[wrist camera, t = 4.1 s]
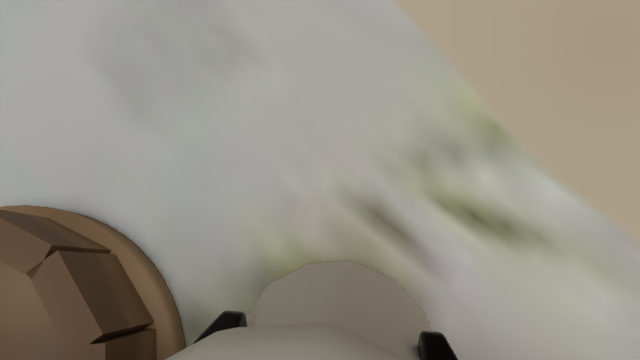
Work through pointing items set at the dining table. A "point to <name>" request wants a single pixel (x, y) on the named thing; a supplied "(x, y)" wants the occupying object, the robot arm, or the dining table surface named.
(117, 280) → the collar stand
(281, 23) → the dining table surface
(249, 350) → the salt shaker
